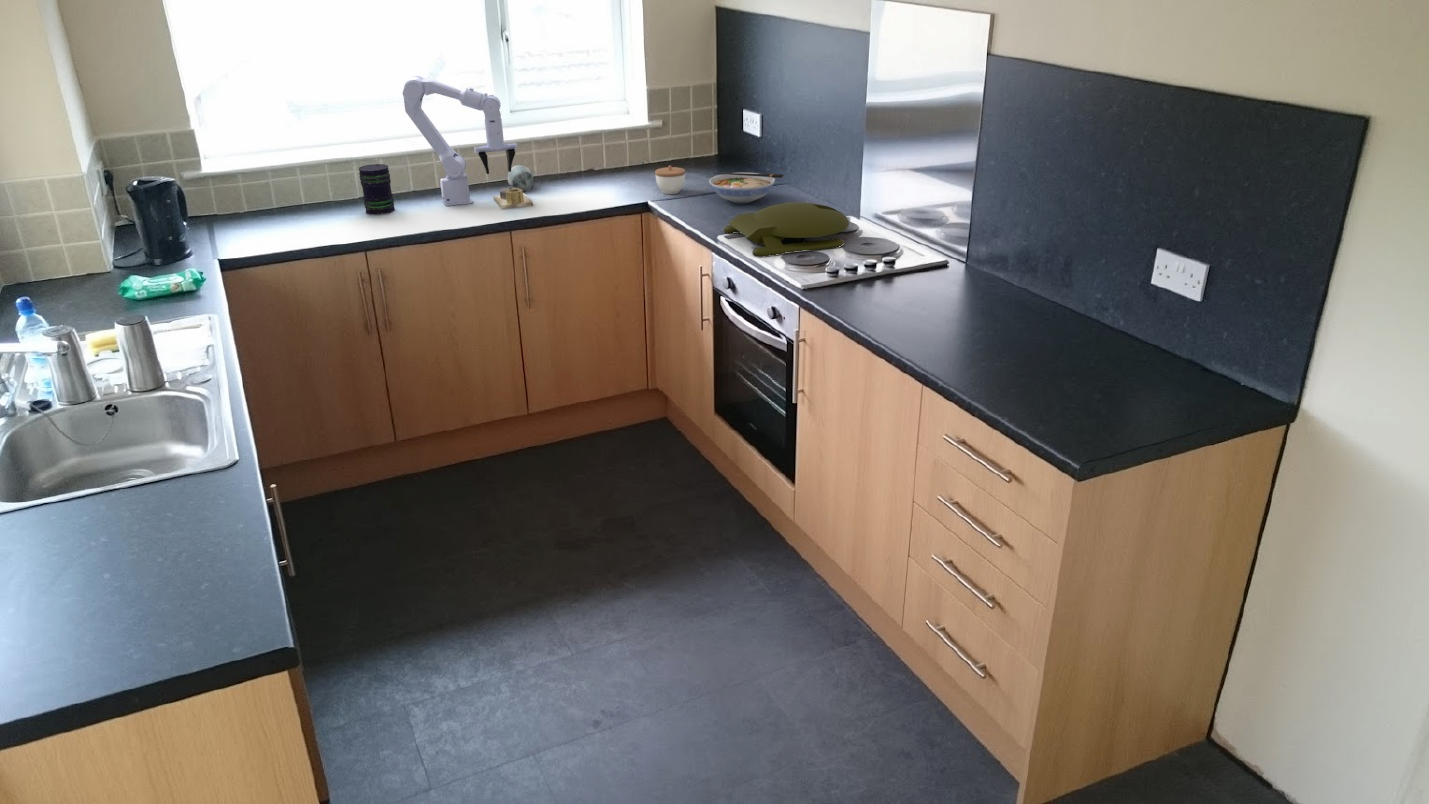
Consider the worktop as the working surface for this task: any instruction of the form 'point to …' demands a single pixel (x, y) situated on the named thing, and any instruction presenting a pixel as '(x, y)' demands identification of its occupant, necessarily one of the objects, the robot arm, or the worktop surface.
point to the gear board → (503, 203)
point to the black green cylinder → (376, 189)
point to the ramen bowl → (742, 186)
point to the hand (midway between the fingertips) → (498, 172)
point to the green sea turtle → (790, 227)
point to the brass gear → (514, 196)
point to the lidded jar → (670, 179)
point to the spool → (520, 177)
